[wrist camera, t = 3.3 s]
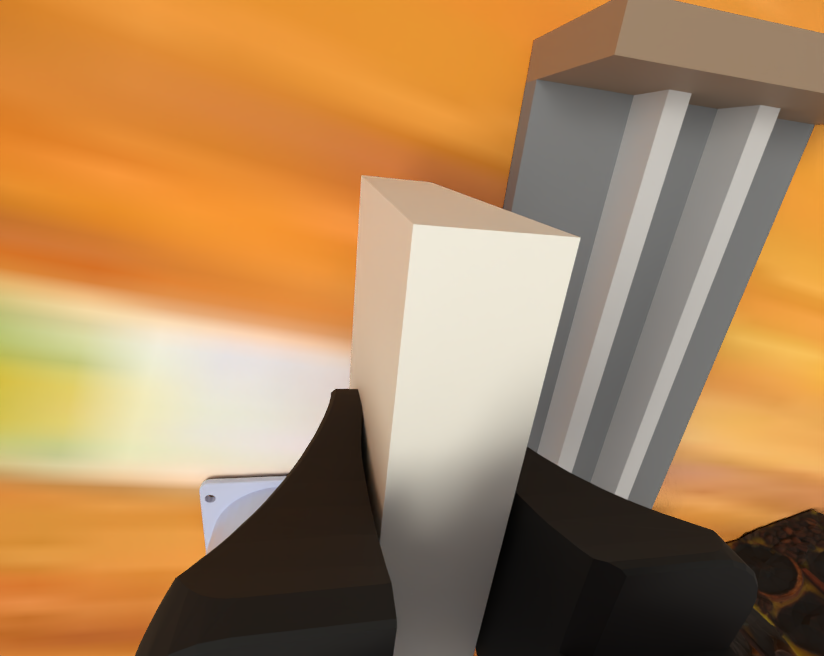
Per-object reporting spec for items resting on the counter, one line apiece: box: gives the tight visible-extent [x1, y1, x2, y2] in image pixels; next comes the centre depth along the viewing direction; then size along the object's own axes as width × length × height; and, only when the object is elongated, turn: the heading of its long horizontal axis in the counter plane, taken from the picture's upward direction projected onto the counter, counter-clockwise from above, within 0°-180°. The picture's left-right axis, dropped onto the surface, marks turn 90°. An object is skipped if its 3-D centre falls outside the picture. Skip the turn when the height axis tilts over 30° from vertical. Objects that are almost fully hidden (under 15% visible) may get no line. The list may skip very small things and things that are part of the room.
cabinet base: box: [503, 0, 824, 509], centre depth 21 cm, size 27×14×6 cm, turn 174°
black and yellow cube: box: [726, 510, 824, 656], centre depth 31 cm, size 10×10×10 cm
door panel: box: [349, 175, 580, 656], centre depth 11 cm, size 12×2×8 cm, turn 174°
